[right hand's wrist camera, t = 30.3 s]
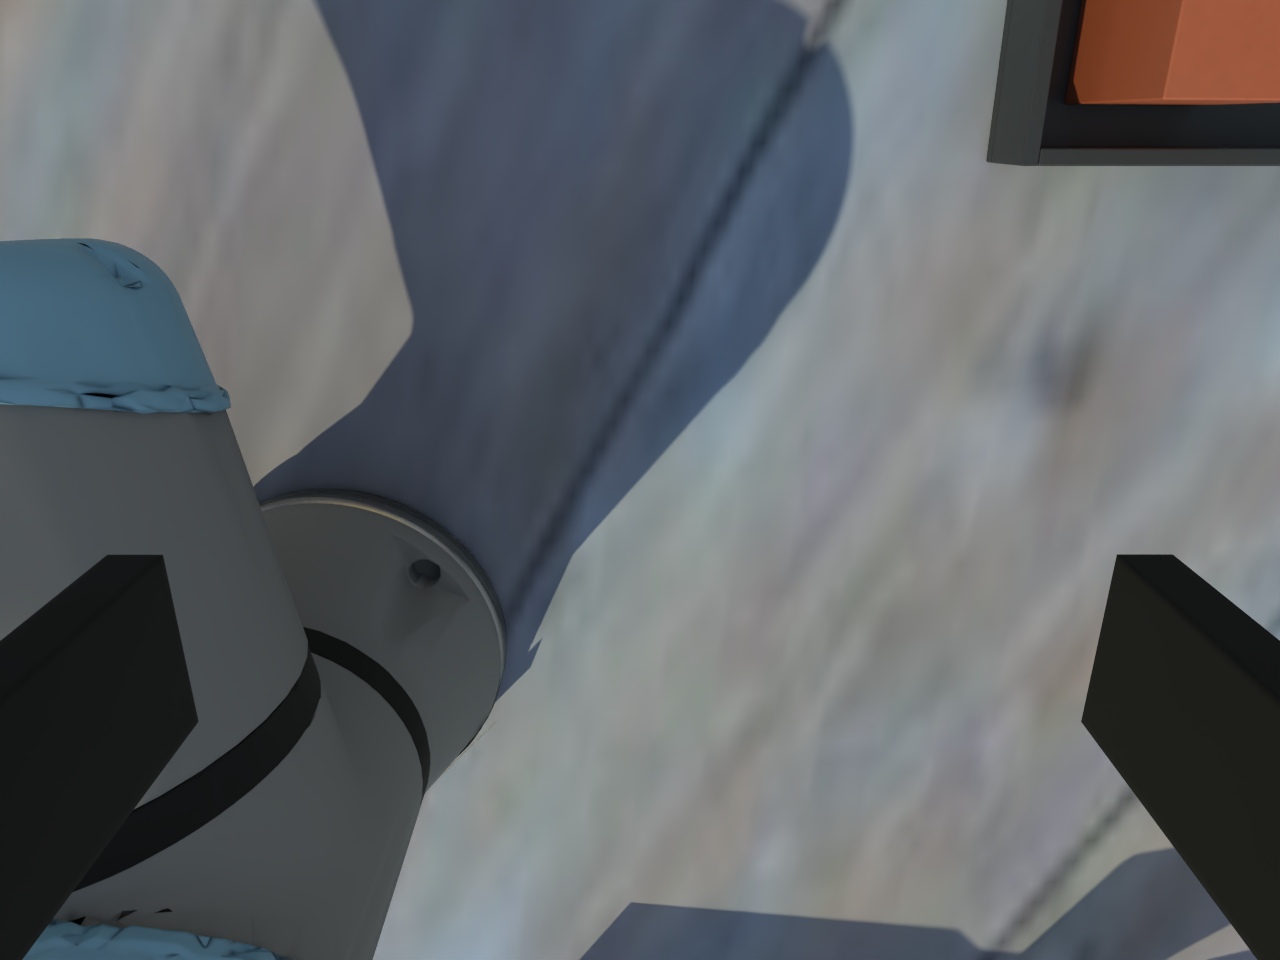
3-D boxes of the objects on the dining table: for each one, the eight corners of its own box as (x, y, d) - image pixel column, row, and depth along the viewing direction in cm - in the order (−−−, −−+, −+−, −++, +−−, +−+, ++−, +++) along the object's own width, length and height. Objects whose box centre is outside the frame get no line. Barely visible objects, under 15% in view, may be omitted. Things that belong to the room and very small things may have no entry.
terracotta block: (1063, 104, 34) (1163, 99, 28) (1088, -47, 32) (1201, -90, 26) (1195, 105, 34) (1325, 101, 28) (1227, -45, 32) (1375, -88, 26)
